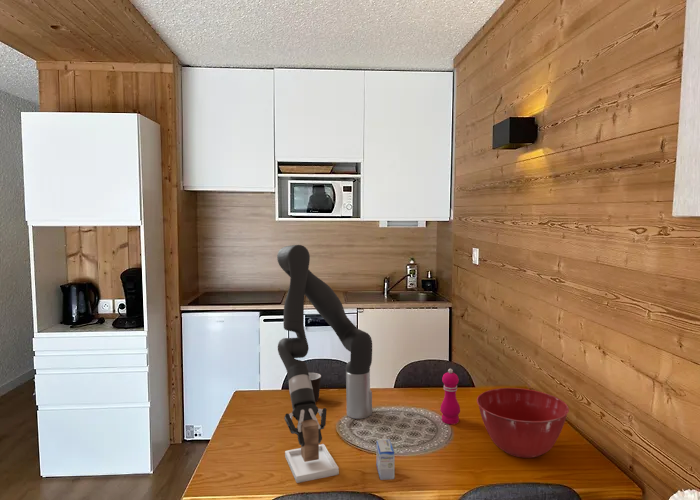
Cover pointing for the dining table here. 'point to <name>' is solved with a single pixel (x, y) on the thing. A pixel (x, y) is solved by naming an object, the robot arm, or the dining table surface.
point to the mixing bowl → (522, 420)
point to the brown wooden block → (310, 440)
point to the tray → (311, 465)
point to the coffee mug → (315, 384)
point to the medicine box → (385, 459)
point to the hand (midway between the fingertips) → (311, 444)
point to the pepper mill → (450, 398)
